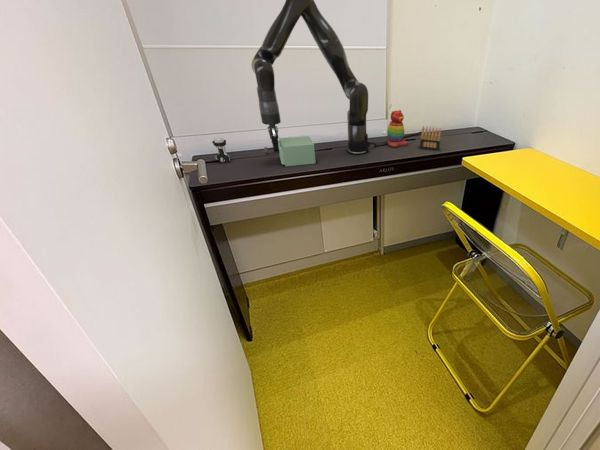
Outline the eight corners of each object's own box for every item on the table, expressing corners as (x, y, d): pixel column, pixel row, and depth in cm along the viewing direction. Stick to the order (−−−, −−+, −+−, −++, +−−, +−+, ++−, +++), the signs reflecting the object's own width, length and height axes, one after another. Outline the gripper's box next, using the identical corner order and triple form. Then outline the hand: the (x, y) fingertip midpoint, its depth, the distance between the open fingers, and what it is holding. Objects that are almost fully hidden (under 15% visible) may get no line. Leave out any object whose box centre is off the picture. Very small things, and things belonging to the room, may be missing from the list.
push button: (212, 162, 138) (205, 140, 133) (219, 157, 143) (214, 136, 137) (226, 163, 138) (220, 141, 132) (233, 159, 142) (228, 137, 137)
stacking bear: (392, 148, 167) (394, 114, 157) (382, 142, 174) (383, 109, 164) (408, 145, 173) (411, 112, 163) (398, 139, 179) (400, 107, 169)
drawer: (267, 165, 136) (264, 149, 132) (265, 156, 144) (262, 141, 140) (310, 161, 143) (308, 146, 139) (306, 153, 151) (304, 138, 147)
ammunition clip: (439, 149, 170) (442, 127, 163) (439, 150, 168) (442, 128, 162) (419, 147, 171) (421, 125, 164) (419, 148, 169) (421, 126, 163)
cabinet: (285, 166, 139) (282, 146, 134) (282, 156, 148) (279, 138, 143) (315, 163, 144) (313, 144, 139) (311, 154, 153) (309, 135, 148)
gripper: (280, 115, 127) (287, 155, 136) (277, 107, 136) (283, 145, 146) (261, 115, 124) (268, 157, 133) (259, 107, 134) (266, 146, 143)
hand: (276, 151), depth 140 cm, fingers closed
